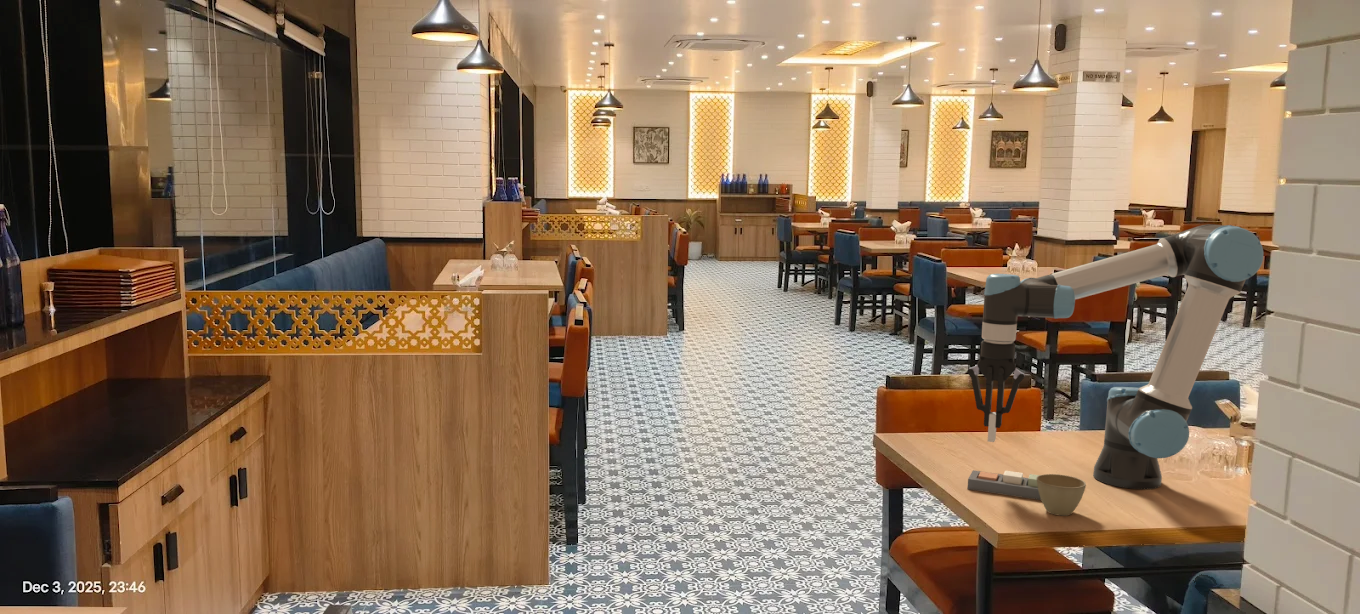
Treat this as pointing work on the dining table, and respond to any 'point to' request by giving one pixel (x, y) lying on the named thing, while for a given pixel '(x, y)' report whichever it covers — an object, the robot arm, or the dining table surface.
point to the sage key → (1032, 480)
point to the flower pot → (1060, 493)
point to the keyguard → (1002, 486)
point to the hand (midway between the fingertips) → (991, 440)
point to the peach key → (988, 476)
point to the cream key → (1013, 477)
